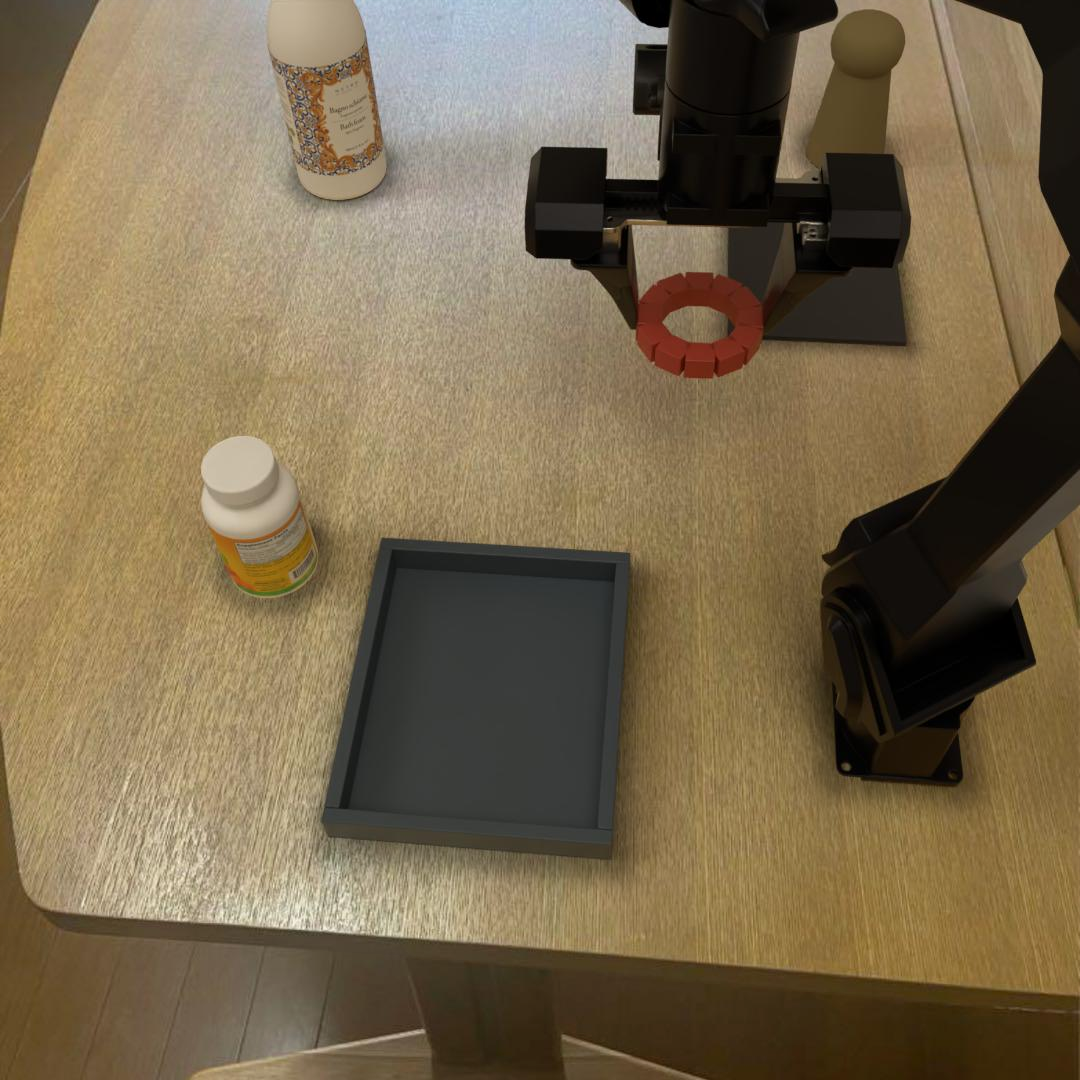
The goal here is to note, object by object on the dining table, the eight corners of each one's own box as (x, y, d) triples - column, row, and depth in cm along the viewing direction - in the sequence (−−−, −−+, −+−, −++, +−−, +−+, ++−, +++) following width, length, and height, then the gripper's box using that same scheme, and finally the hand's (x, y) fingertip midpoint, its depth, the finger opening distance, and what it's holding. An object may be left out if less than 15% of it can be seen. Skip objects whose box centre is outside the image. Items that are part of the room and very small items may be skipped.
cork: (882, 180, 91) (915, 48, 82) (802, 172, 92) (826, 40, 83) (885, 132, 94) (916, 0, 85) (808, 125, 95) (831, -7, 86)
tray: (611, 863, 60) (612, 845, 58) (329, 840, 62) (320, 821, 59) (629, 576, 70) (630, 552, 68) (387, 561, 72) (381, 536, 70)
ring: (762, 381, 65) (766, 363, 64) (634, 376, 65) (635, 358, 64) (758, 291, 69) (761, 273, 68) (637, 288, 69) (638, 269, 68)
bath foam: (327, 215, 91) (271, -43, 74) (283, 170, 94) (220, -86, 78) (404, 179, 93) (366, -78, 77) (358, 136, 96) (313, -119, 80)
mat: (905, 346, 81) (907, 342, 80) (727, 338, 82) (728, 333, 81) (892, 229, 88) (893, 225, 87) (728, 223, 89) (729, 218, 88)
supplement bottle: (227, 538, 73) (184, 434, 65) (315, 521, 74) (282, 417, 66) (233, 610, 70) (188, 511, 62) (324, 592, 70) (291, 492, 63)
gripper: (917, -18, 58) (856, 234, 71) (535, -22, 59) (543, 226, 72) (946, 123, 52) (873, 372, 64) (518, 115, 53) (529, 361, 65)
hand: (699, 326), depth 67 cm, fingers closed on ring, 7 cm apart
